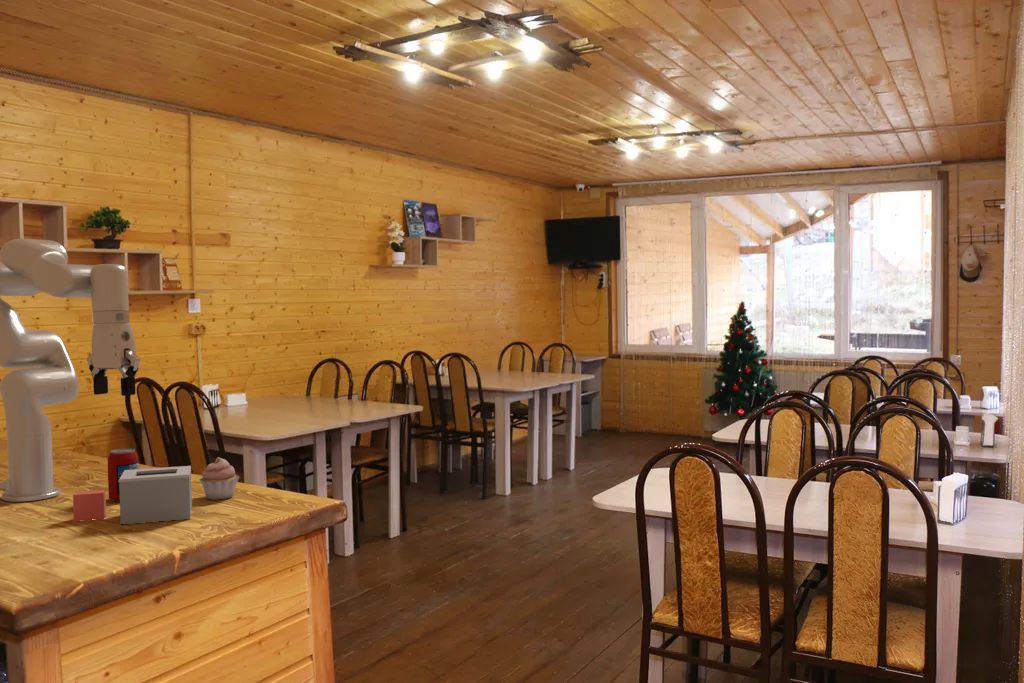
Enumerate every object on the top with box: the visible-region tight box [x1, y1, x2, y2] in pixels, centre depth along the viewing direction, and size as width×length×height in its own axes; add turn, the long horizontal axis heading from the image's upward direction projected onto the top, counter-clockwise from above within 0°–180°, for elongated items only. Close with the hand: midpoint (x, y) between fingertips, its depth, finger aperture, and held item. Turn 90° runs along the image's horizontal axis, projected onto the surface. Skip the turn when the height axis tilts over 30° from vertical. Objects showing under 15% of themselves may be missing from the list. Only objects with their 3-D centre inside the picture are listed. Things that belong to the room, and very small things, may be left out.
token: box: [72, 489, 107, 522], centre depth 181 cm, size 6×3×6 cm, turn 109°
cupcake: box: [198, 456, 240, 501], centre depth 200 cm, size 9×9×10 cm
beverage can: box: [107, 447, 139, 502], centre depth 198 cm, size 7×7×12 cm
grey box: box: [119, 465, 193, 525], centre depth 183 cm, size 14×10×10 cm
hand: (114, 394), depth 185 cm, fingers open, 9 cm apart
